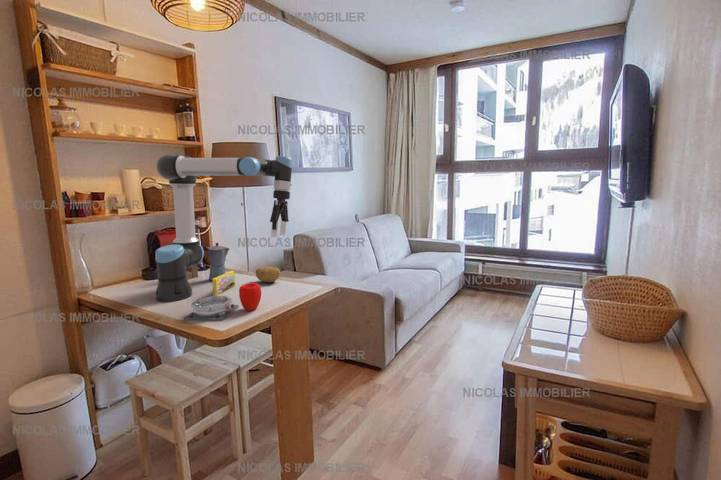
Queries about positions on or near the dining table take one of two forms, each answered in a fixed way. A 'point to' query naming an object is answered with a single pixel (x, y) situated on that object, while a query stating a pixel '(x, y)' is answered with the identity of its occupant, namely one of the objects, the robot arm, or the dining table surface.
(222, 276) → the candy box
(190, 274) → the wooden block
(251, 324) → the dining table surface
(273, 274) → the potato
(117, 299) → the dining table surface
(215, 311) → the rosette stand
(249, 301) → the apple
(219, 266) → the moka pot
